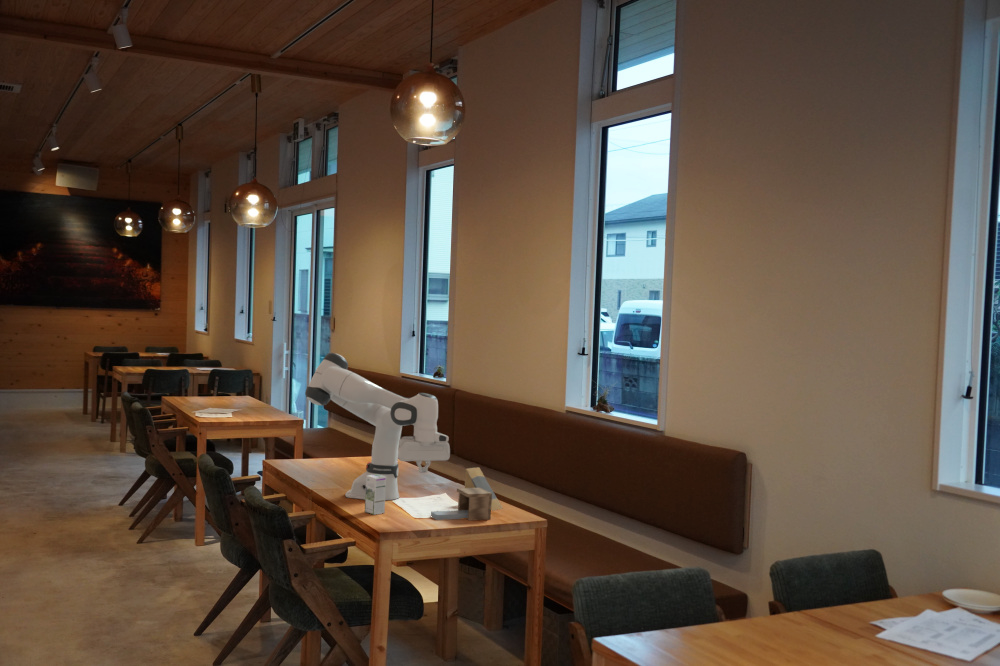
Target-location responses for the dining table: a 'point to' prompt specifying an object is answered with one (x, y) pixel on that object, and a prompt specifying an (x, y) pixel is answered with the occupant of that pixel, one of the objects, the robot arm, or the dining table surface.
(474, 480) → the sandwich container
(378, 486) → the syrup box
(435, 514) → the panel
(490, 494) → the open wooden box
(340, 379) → the robot arm
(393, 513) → the dining table surface
